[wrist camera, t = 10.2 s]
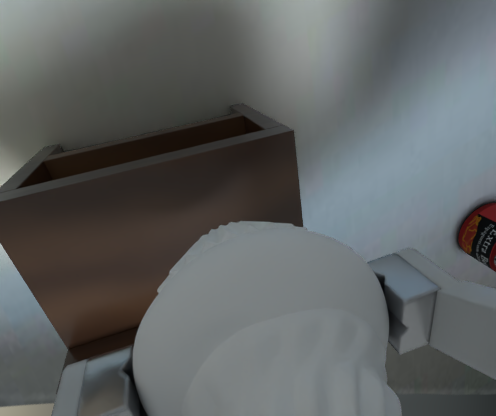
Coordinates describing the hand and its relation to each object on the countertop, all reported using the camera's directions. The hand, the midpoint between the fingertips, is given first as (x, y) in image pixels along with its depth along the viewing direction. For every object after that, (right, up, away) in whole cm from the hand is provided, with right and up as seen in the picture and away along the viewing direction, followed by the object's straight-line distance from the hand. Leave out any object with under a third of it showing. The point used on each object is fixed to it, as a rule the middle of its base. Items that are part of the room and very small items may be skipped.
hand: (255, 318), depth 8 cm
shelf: (-7, +5, +20) cm, 22 cm away
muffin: (-1, +1, +3) cm, 3 cm away
